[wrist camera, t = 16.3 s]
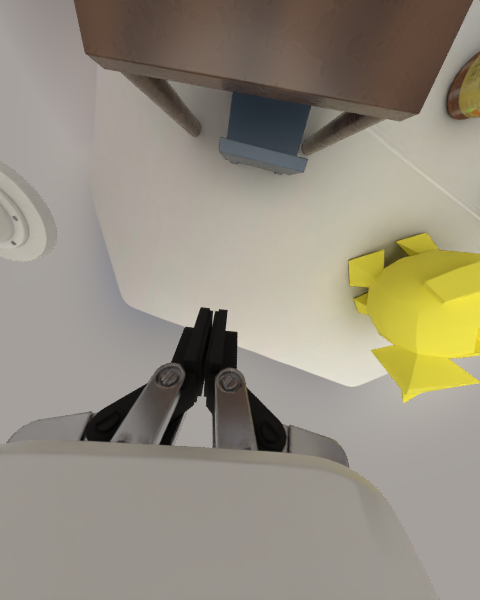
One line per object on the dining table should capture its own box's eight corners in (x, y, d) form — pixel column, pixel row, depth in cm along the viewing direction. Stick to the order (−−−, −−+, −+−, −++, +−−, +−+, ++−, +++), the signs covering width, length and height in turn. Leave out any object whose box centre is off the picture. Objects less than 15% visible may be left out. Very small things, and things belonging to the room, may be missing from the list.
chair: (229, 164, 27) (218, 151, 16) (239, 85, 23) (234, -2, 12) (281, 176, 27) (303, 172, 17) (301, 102, 23) (347, 34, 13)
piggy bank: (348, 331, 43) (409, 420, 27) (328, 262, 34) (401, 332, 18) (448, 299, 38) (600, 385, 22) (455, 207, 29) (725, 236, 13)
